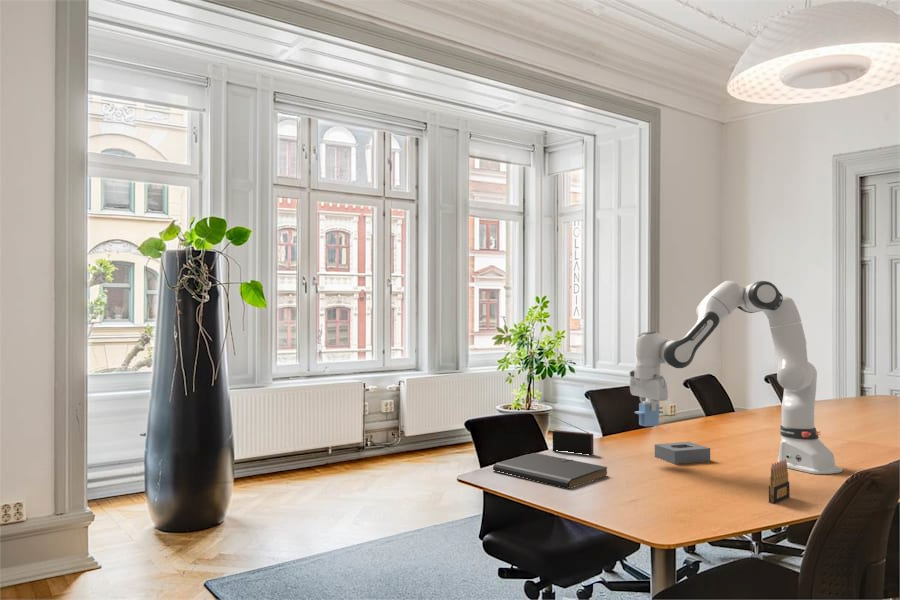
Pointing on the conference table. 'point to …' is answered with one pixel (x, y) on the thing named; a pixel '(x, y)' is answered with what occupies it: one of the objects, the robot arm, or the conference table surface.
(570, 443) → the radio
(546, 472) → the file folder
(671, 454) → the grey socket block
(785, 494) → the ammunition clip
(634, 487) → the conference table surface
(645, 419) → the servo
